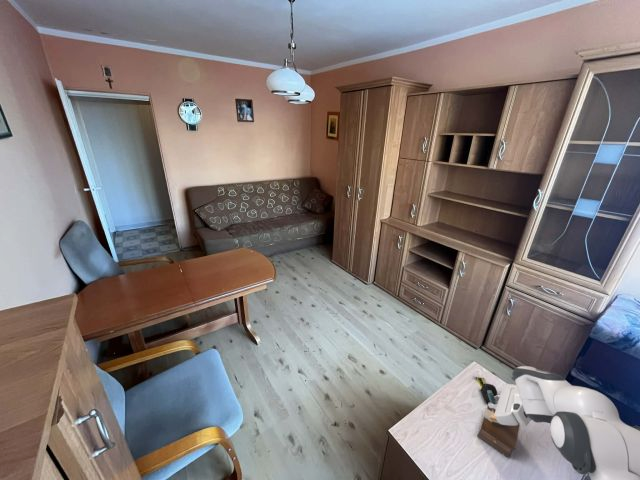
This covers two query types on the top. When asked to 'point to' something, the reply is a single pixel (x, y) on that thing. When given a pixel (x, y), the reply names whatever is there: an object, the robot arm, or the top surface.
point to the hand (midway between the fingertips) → (489, 402)
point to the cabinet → (498, 435)
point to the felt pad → (487, 414)
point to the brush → (492, 408)
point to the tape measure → (486, 387)
